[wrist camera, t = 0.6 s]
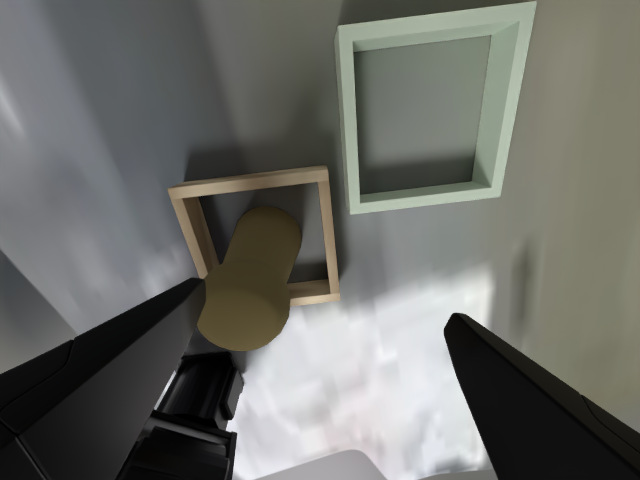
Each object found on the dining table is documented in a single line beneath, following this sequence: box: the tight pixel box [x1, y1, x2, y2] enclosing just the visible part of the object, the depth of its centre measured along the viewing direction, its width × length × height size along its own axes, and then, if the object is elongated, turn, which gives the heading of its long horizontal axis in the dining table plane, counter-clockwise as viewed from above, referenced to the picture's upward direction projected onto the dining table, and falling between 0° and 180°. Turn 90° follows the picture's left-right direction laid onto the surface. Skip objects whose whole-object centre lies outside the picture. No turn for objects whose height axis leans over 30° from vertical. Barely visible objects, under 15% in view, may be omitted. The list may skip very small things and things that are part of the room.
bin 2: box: [334, 1, 537, 215], centre depth 18 cm, size 12×12×2 cm
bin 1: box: [167, 165, 340, 306], centre depth 21 cm, size 12×12×2 cm
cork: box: [197, 206, 302, 351], centre depth 17 cm, size 6×6×11 cm
